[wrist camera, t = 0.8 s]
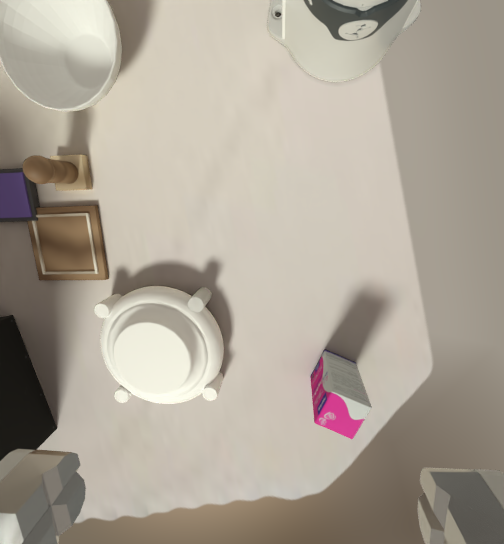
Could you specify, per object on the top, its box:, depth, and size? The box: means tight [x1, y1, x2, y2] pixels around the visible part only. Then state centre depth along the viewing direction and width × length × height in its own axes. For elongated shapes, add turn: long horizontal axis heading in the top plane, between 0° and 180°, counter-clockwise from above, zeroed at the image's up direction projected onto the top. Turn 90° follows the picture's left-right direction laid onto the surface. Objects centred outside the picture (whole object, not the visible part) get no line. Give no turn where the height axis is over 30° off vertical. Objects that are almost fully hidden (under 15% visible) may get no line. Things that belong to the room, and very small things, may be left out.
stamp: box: [23, 154, 92, 191], centre depth 45 cm, size 5×5×9 cm
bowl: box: [0, 0, 122, 112], centre depth 42 cm, size 16×16×7 cm
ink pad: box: [0, 168, 40, 222], centre depth 50 cm, size 8×8×2 cm
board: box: [27, 205, 109, 280], centre depth 51 cm, size 12×12×1 cm
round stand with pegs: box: [94, 286, 224, 404], centre depth 51 cm, size 24×24×7 cm
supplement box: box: [311, 350, 372, 439], centre depth 47 cm, size 6×6×12 cm
